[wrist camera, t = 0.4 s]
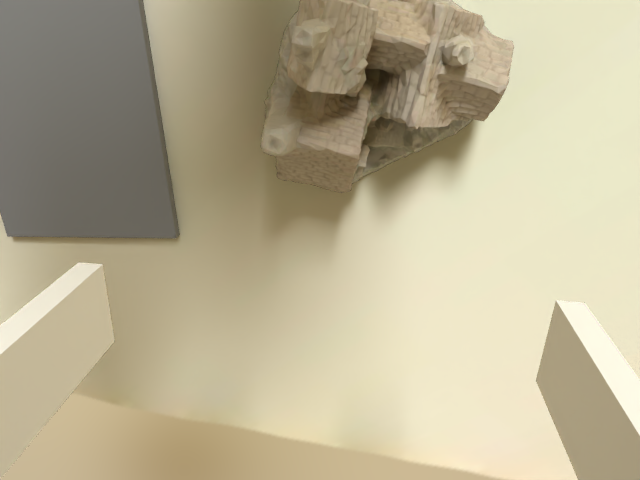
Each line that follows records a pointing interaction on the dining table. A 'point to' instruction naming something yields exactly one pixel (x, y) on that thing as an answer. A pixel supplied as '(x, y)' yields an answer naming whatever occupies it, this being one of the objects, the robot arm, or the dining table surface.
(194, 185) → the dining table surface
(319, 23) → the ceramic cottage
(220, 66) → the dining table surface
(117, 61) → the charcoal mat
